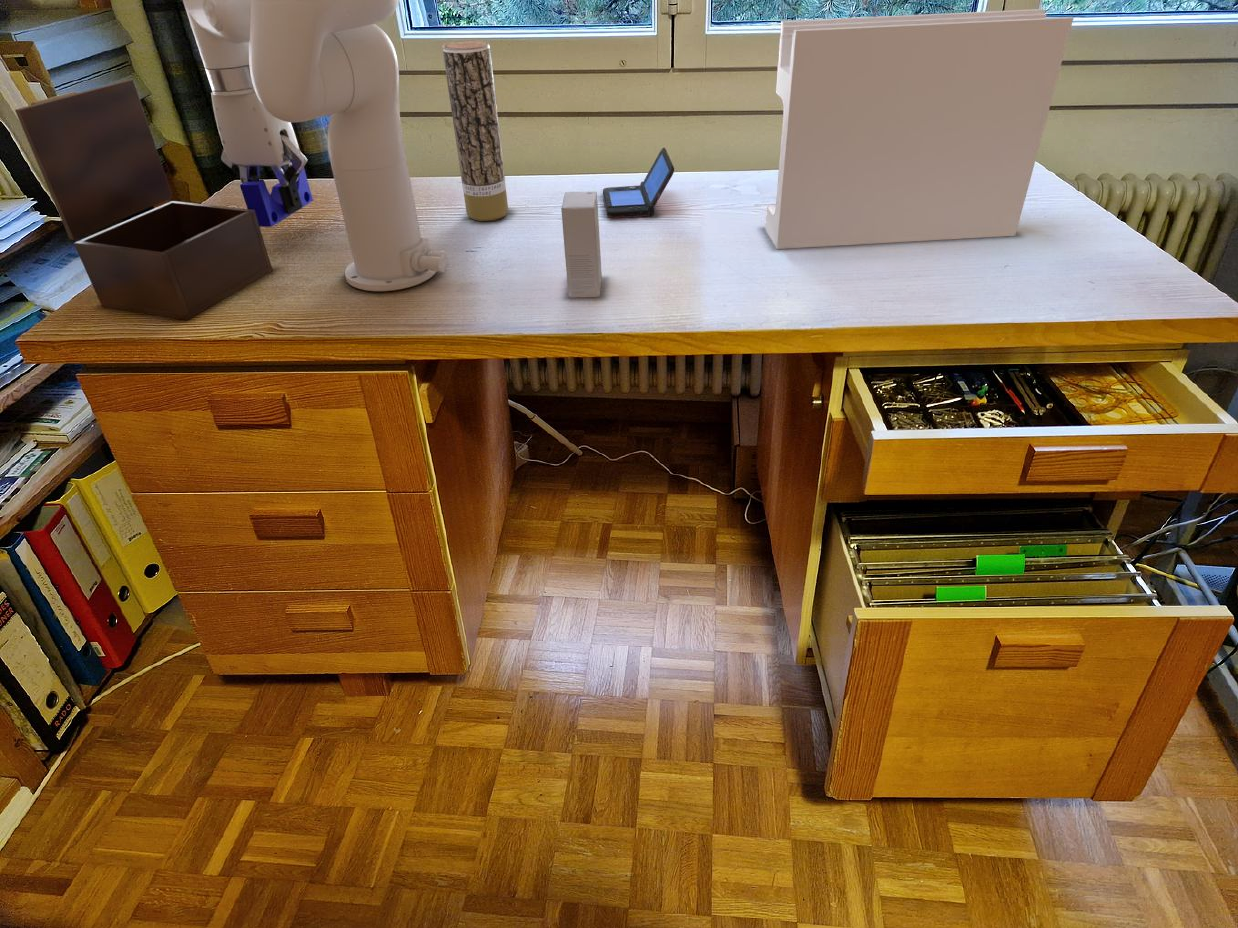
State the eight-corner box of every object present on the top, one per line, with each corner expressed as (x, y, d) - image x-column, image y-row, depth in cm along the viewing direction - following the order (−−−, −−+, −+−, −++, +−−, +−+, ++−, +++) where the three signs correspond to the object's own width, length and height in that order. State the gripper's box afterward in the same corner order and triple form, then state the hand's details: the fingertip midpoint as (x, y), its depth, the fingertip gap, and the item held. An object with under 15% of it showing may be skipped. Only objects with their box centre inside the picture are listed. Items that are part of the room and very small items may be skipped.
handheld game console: (602, 194, 138) (600, 149, 134) (664, 191, 139) (665, 146, 135) (607, 220, 128) (605, 172, 124) (674, 216, 129) (675, 168, 125)
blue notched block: (287, 200, 128) (275, 161, 124) (313, 200, 127) (302, 161, 123) (244, 226, 118) (230, 185, 115) (271, 226, 117) (258, 184, 114)
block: (776, 249, 117) (795, 31, 100) (765, 229, 123) (781, 21, 106) (1015, 235, 118) (1073, 18, 101) (991, 216, 124) (1042, 9, 108)
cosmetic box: (570, 279, 110) (564, 191, 103) (602, 278, 110) (597, 190, 103) (567, 298, 105) (560, 207, 98) (600, 298, 105) (595, 206, 98)
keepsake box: (273, 270, 116) (254, 209, 111) (187, 320, 104) (161, 255, 99) (193, 259, 121) (172, 200, 115) (101, 306, 108) (73, 243, 103)
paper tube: (516, 216, 131) (497, 44, 116) (478, 225, 128) (454, 51, 113) (497, 205, 136) (476, 39, 121) (460, 214, 133) (434, 45, 118)
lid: (133, 79, 106) (102, 76, 107) (19, 110, 93) (-15, 106, 95) (173, 198, 115) (143, 193, 116) (74, 240, 103) (42, 234, 104)
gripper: (306, 73, 112) (340, 205, 122) (210, 74, 117) (251, 200, 128) (269, 84, 106) (309, 221, 117) (171, 85, 112) (217, 215, 122)
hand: (278, 209), depth 122 cm, fingers closed on blue notched block, 5 cm apart
